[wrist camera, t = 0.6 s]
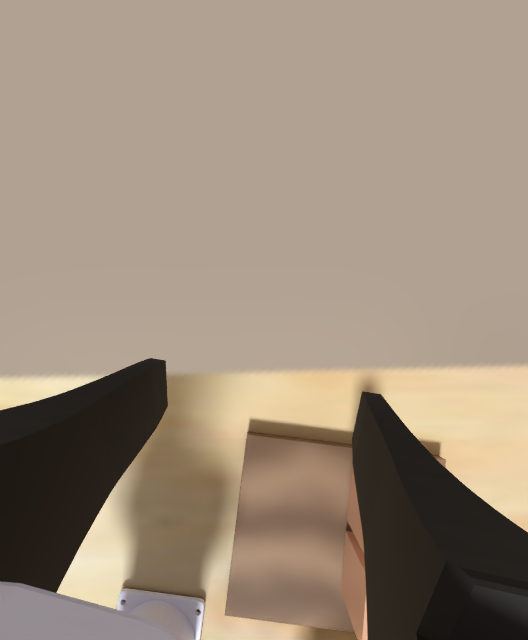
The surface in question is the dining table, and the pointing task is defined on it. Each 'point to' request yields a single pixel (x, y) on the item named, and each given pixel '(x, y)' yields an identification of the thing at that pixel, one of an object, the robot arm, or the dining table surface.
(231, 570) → the board
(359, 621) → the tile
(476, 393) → the dining table surface
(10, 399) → the dining table surface
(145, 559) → the dining table surface
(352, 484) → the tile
